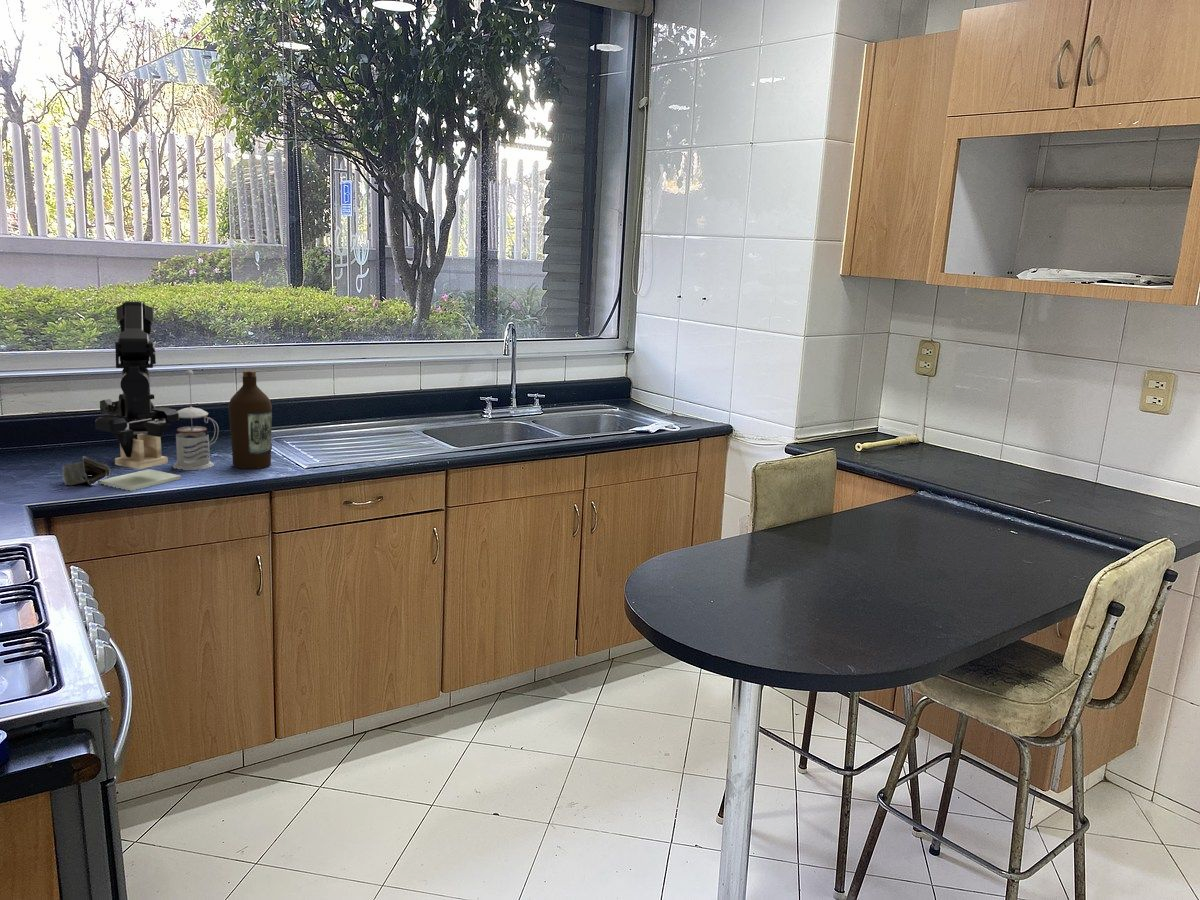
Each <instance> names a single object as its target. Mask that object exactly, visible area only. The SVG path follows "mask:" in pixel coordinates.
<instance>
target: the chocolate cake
mask: <svg viewBox="0 0 1200 900" xmlns="http://www.w3.org/2000/svg"><path fill="white" fill-rule="evenodd" d="M61 469H62V470H61V471H62V473H61V475H62V479H63V483H64V485H65V486H66V485H71V486H74V485H75V486H76V485H80V484H85V483H87V484H88V485H89V486H91V487H93V486H92V485H91V484H94V483H95V482H96V481H98V480H100V479H102V478H104V477H105V476H109V477H111V476H112V471H111V468H110V467H109V465H108V464H106V463H102V462H101V461H98V460H95V459H93V458H91V457H88V456H85V455H82V460H81V461H79V462H73V463H71V464H66V465H63V466H62V468H61ZM87 475H92V476H88V477H87ZM110 475H111V476H110Z"/></svg>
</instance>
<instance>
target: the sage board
mask: <svg viewBox="0 0 1200 900" xmlns="http://www.w3.org/2000/svg"><path fill="white" fill-rule="evenodd" d="M179 480H182V475H179V474H175V473H170V472H164V471H160V470H155V469H151V468H146V469H142V470H139V471H134V472H130V473H125V474H121V475H116V476H112V477H109V478H108V477H107V478H105V479H103V480H98V483H99V484H98V485H101V484H104V485H103V486H106V485H108V486H107V487H110V486H113V487H112V488H115V487H116V488H115V489H119V488H121V489H120V490H124V489H125V491H128V490H130V491H129V492H132V490H133V491H136V489H137V490H140V488H141V489H145V488H149V487H154V486H157V485H158V486H159V485H162V484H165V483H169V482H170V483H171V482H174V481H179Z"/></svg>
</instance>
